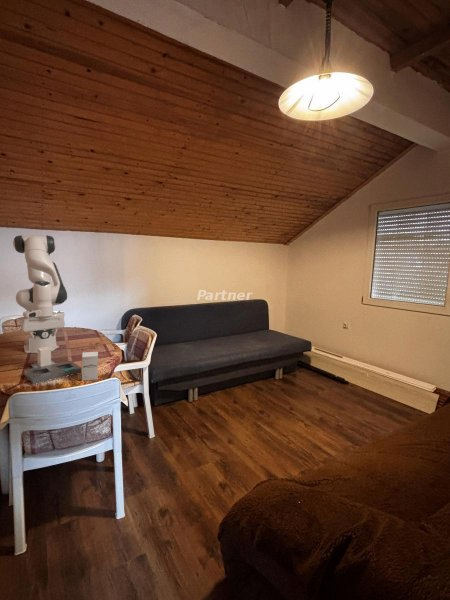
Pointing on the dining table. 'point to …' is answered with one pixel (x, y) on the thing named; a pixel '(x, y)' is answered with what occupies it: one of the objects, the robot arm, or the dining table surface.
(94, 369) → the supplement box
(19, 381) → the dining table surface
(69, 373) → the rack plate
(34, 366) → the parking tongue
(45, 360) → the peg
